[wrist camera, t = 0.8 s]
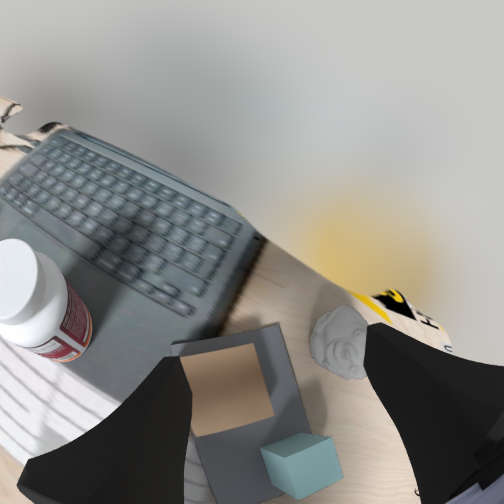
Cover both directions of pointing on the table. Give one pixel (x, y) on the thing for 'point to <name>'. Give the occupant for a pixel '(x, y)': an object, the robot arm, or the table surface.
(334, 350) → the grey rounded lumpy piece
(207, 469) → the mat
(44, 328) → the pill bottle
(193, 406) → the walnut slab
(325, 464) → the teal block
